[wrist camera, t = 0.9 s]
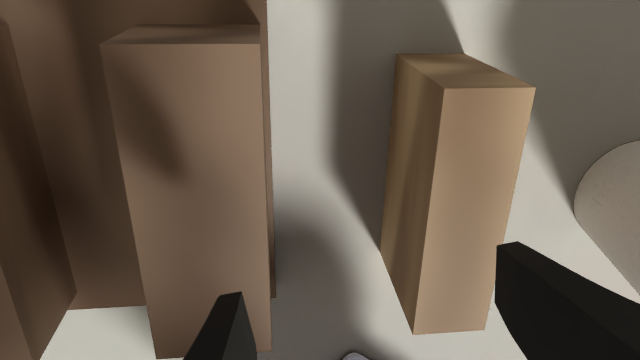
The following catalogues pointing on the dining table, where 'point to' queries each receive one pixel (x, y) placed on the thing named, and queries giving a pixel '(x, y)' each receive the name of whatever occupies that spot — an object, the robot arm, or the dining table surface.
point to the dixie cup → (614, 208)
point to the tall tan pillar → (450, 185)
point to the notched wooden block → (134, 165)
